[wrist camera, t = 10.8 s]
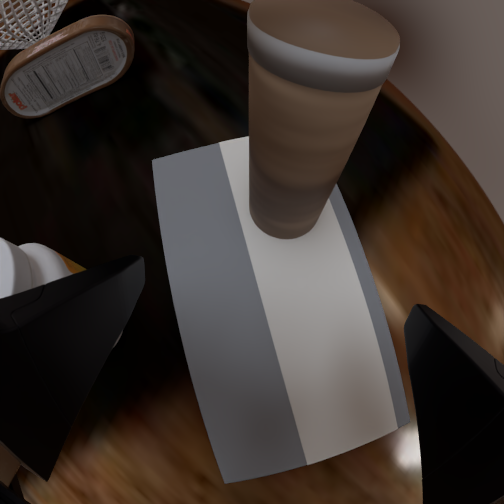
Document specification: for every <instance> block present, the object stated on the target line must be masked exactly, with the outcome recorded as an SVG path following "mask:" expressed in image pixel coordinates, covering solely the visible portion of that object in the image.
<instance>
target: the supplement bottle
mask: <svg viewBox="0 0 504 504" xmlns="http://www.w3.org/2000/svg"><path fill="white" fill-rule="evenodd" d="M83 270H86V269H85V268H83V267H81V266H80V265H78V264H76V263H74V262H73V261H71V260H69V259H67V258H66V257H64V256H62V255H61V254H59V253H57V252H55V251H54V250H52V249H50V248H48V247H46V246H44V245H41V244H37V243H28V244H23V245H21V246H16V245H14V244H12V243H10V242H8V241H6V240H4V239H2V238H0V298H4V297H7V296H10V295H14V294H17V293H20V292H23V291H26V290H29V289H32V288H35V287H38V286H40V285H43V284H45V285H46V283H49V282H52V281H55V280H57V279H60V278H63V277H66V276H69V275H72V274H75V273H78V272H81V271H83ZM122 332H123V331H122ZM122 332H121V334H120V336H119V338H118V339H117V341H116V343H117V342H118V340H119V339H120V337H121V335H122ZM116 343H115V345H116ZM115 345H114V346H115ZM114 346H113V347H114Z"/></svg>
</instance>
